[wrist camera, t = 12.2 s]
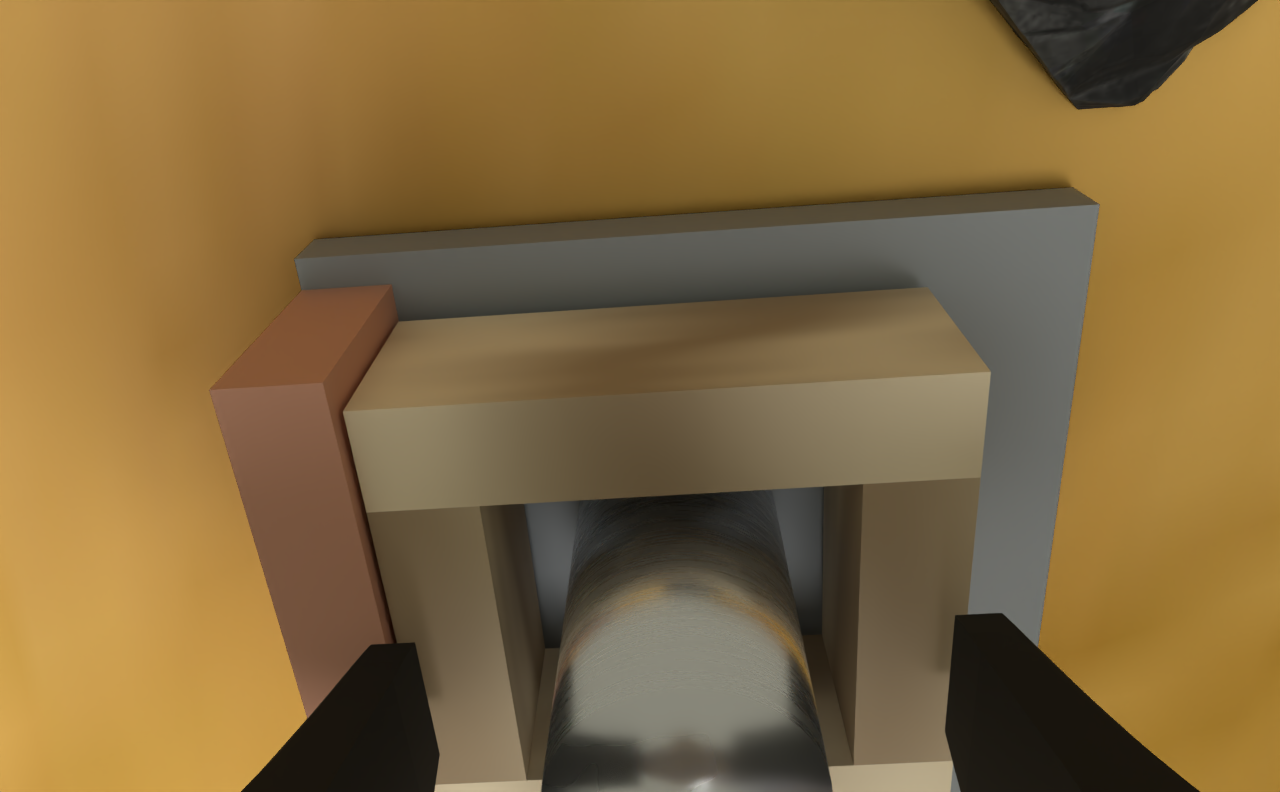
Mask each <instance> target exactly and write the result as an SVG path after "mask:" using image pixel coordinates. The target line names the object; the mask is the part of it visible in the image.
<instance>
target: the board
mask: <svg viewBox="0 0 1280 792" xmlns="http://www.w3.org/2000/svg"><path fill="white" fill-rule="evenodd" d="M1099 205H1100V204H1098V203H1097V202H1095V201H1093V200H1092V199H1090V198H1089V197H1087V196H1086V195H1084V194H1083V193H1081V192H1079V191H1078V190H1076V189H1075V188H1073V187H1070V188H1055V189H1041V190H1026V191H1011V192H997V193H982V194H968V195H953V196H939V197H924V198H910V199H895V200H881V201H866V202H851V203H837V204H822V205H808V206H793V207H779V208H764V209H750V210H735V211H720V212H706V213H691V214H677V215H662V216H648V217H633V218H619V219H604V220H589V221H575V222H560V223H546V224H531V225H517V226H502V227H488V228H473V229H458V230H444V231H429V232H415V233H400V234H386V235H371V236H357V237H342V238H327V239H314V240H313V241H312V242H311V243H310V244H309V245H308V246H307V247H306V248H305V249H304V250H303V251H302V252H301V253H300V254H299V255H298V256H297V257H296V258H295V259H294V261H295V265H296V269H297V273H298V277H299V281H300V286H301V291H300V293H299V294H298V295H297V296H296V297H295V298H294V299H293V300H292V301H291V302H290V303H289V304H288V305H287V307H286V308H285V309H284V310H283V311H282V312H281V313H280V314H279V315H278V316H277V317H276V318H275V320H274V321H273V322H272V323H271V324H270V325H269V326H268V327H267V328H266V329H265V330H264V331H263V332H262V334H261V335H260V336H259V337H258V338H257V339H256V340H255V341H254V342H253V343H252V344H251V345H250V346H249V348H248V349H247V350H246V351H245V352H244V353H243V354H242V355H241V356H240V357H239V358H238V359H237V361H236V362H235V363H234V364H233V365H232V366H231V367H230V368H229V369H228V370H227V371H226V372H225V373H224V375H223V376H222V377H221V378H220V379H219V380H218V381H217V382H216V383H215V384H214V385H213V386H212V387H211V389H210V390H209V391H210V395H211V398H212V401H213V405H214V408H215V411H216V415H217V418H218V421H219V425H220V428H221V431H222V435H223V438H224V441H225V445H226V448H227V451H228V455H229V458H230V461H231V465H232V468H233V471H234V475H235V478H236V481H237V485H238V488H239V491H240V495H241V498H242V501H243V505H244V508H245V511H246V515H247V518H248V521H249V525H250V528H251V531H252V535H253V538H254V542H255V545H256V548H257V552H258V555H259V558H260V562H261V565H262V568H263V572H264V575H265V578H266V582H267V585H268V588H269V592H270V595H271V598H272V602H273V605H274V608H275V612H276V615H277V618H278V622H279V625H280V628H281V632H282V635H283V638H284V642H285V645H286V648H287V652H288V655H289V658H290V662H291V665H292V668H293V672H294V675H295V678H296V682H297V685H298V689H299V692H300V695H301V699H302V702H303V705H304V709H305V712H306V715H307V718H308V717H309V716H310V715H311V714H312V713H313V711H314V710H315V709H316V708H317V707H318V706H319V704H320V703H321V702H322V701H323V700H324V698H325V697H326V696H327V695H328V694H329V693H330V691H331V690H332V689H333V688H334V687H335V685H336V684H337V683H338V682H339V681H340V679H341V678H342V677H343V676H344V675H345V673H346V672H347V671H348V670H349V669H350V667H351V666H352V665H353V664H354V663H355V662H356V660H357V659H358V658H359V657H360V656H361V655H362V653H363V652H364V651H365V650H366V649H367V648H368V647H369V646H370V645H372V644H392V643H397V641H396V637H395V633H394V628H393V624H392V620H391V615H390V611H389V607H388V603H387V598H386V594H385V590H384V586H383V581H382V577H381V573H380V569H379V564H378V560H377V556H376V551H375V547H374V543H373V539H372V534H371V530H370V526H369V522H368V517H367V513H366V509H365V504H364V500H363V496H362V492H361V487H360V483H359V479H358V475H357V470H356V466H355V462H354V457H353V453H352V449H351V445H350V440H349V436H348V432H347V428H346V423H345V419H344V415H343V410H344V409H345V407H346V406H347V404H348V402H349V401H350V399H351V397H352V396H353V394H354V393H355V391H356V389H357V388H358V386H359V385H360V383H361V381H362V380H363V378H364V376H365V375H366V373H367V372H368V370H369V368H370V367H371V365H372V363H373V362H374V360H375V359H376V357H377V355H378V354H379V352H380V350H381V349H382V347H383V346H384V344H385V342H386V341H387V339H388V338H389V336H390V334H391V333H392V331H393V329H394V328H395V326H396V325H397V323H398V322H399V321H415V320H430V319H446V318H461V317H476V316H492V315H507V314H522V313H538V312H553V311H568V310H584V309H599V308H614V307H630V306H645V305H661V304H676V303H691V302H707V301H722V300H737V299H753V298H768V297H783V296H799V295H814V294H830V293H845V292H860V291H876V290H891V289H906V288H922V287H928V288H929V290H930V291H931V292H932V294H933V295H934V296H935V298H936V299H937V300H938V302H939V303H940V304H941V306H942V307H943V308H944V310H945V311H946V312H947V314H948V315H949V316H950V318H951V319H952V320H953V322H954V323H955V324H956V326H957V327H958V328H959V330H960V331H961V332H962V334H963V335H964V336H965V338H966V339H967V340H968V342H969V343H970V344H971V346H972V347H973V348H974V350H975V351H976V352H977V354H978V355H979V356H980V358H981V359H982V360H983V362H984V363H985V364H986V366H987V367H988V368H989V370H990V371H991V377H990V387H989V397H988V408H987V418H986V428H985V439H984V449H983V459H982V470H981V480H980V491H979V501H978V511H977V522H976V532H975V542H974V553H973V563H972V573H971V584H970V594H969V604H968V614H987V613H1003V614H1004V615H1005V616H1006V617H1007V618H1008V619H1009V620H1010V621H1011V622H1012V623H1013V624H1015V625H1016V626H1017V627H1018V628H1019V629H1020V630H1021V631H1022V632H1023V633H1024V634H1025V635H1026V636H1027V637H1028V638H1029V639H1030V640H1031V641H1032V642H1033V643H1034V644H1035V645H1036V646H1037V647H1038V642H1039V635H1040V628H1041V621H1042V614H1043V607H1044V599H1045V592H1046V585H1047V578H1048V571H1049V564H1050V556H1051V549H1052V542H1053V535H1054V528H1055V521H1056V513H1057V506H1058V499H1059V492H1060V485H1061V477H1062V470H1063V463H1064V456H1065V449H1066V442H1067V434H1068V427H1069V420H1070V413H1071V406H1072V399H1073V391H1074V384H1075V377H1076V370H1077V363H1078V356H1079V348H1080V341H1081V334H1082V327H1083V320H1084V313H1085V305H1086V298H1087V291H1088V284H1089V277H1090V269H1091V262H1092V255H1093V248H1094V241H1095V234H1096V226H1097V219H1098V212H1099ZM771 490H772V494H773V497H774V501H775V505H776V510H777V515H778V520H779V525H780V530H781V535H782V540H783V545H784V550H785V555H786V560H787V565H788V570H789V575H790V579H791V584H792V589H793V594H794V599H795V604H796V609H797V614H798V619H799V624H800V629H801V634H802V635H819V634H822V595H823V520H824V486H823V487H805V488H788V489H771ZM579 503H580V500H579V501H561V502H544V503H526V504H524V509H525V515H526V522H527V529H528V536H529V542H530V549H531V556H532V563H533V569H534V576H535V583H536V590H537V596H538V603H539V610H540V617H541V623H542V630H543V637H544V644H545V649H547V648H560V644H561V636H562V629H563V621H564V614H565V606H566V599H567V591H568V584H569V576H570V569H571V561H572V554H573V546H574V539H575V531H576V524H577V516H578V509H579ZM950 792H961V791H960V788H959V784H958V780H957V777H956V773H955V769H954V765H953V770H952V781H951V791H950Z"/></svg>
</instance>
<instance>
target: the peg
mask: <svg viewBox="0 0 1280 792" xmlns="http://www.w3.org/2000/svg"><path fill="white" fill-rule="evenodd" d="M541 792H833V790H832V782H831V777H830V772H829V767H828V762H827V757H826V752H825V747H824V742H823V737H822V732H821V727H820V722H819V717H818V713H817V708H816V703H815V698H814V693H813V688H812V683H811V678H810V673H809V668H808V663H807V658H806V653H805V648H804V644H803V639H802V634H801V629H800V624H799V619H798V614H797V609H796V604H795V599H794V594H793V589H792V584H791V579H790V575H789V570H788V565H787V560H786V555H785V550H784V545H783V540H782V535H781V530H780V525H779V520H778V515H777V510H776V505H775V501H774V497H773V494H772V490H753V491H736V492H718V493H701V494H683V495H666V496H648V497H631V498H614V499H596V500H580V503H579V509H578V516H577V524H576V531H575V539H574V546H573V554H572V561H571V569H570V576H569V584H568V591H567V599H566V606H565V614H564V621H563V629H562V636H561V644H560V651H559V659H558V666H557V674H556V681H555V689H554V696H553V704H552V711H551V719H550V726H549V734H548V741H547V749H546V756H545V764H544V771H543V779H542V787H541Z"/></svg>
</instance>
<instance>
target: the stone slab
mask: <svg viewBox="0 0 1280 792" xmlns="http://www.w3.org/2000/svg"><path fill="white" fill-rule="evenodd" d="M1256 1H1258V0H990V2H991V3H992V4H993V5H994V6H995V7H996V8H997V10H998V11H999V12H1000V14H1001V15H1002V16H1003V18H1004V19H1005V20H1006V21H1007V23H1008V24H1009V25H1010V27H1011V28H1012V29H1013V31H1014V32H1015V34H1016V35H1017V36H1018V37H1019V38H1020V39H1021V40H1022V41H1023V42H1024V43H1025V44H1026V46H1027V47H1028V48H1029V49H1030V50H1031V51H1032V53H1033V54H1034V55H1035V56H1036V58H1037V59H1038V60H1039V62H1040V63H1041V64H1042V66H1043V67H1044V68H1045V70H1046V71H1047V72H1048V74H1049V75H1050V76H1051V78H1052V79H1053V80H1054V82H1055V83H1056V85H1057V86H1058V87H1059V89H1060V90H1061V91H1062V92H1063V93H1064V94H1065V96H1066V97H1067V98H1068V99H1069V100H1070V101H1071V102H1072V103H1073V105H1074V106H1075V107H1076V108H1077V109H1091V108H1105V107H1123V106H1133V105H1136V104H1138V103H1140V102H1142V101H1144V100H1145V99H1146V98H1147V97H1148V96H1149V95H1150V94H1151V93H1152V92H1153V91H1154V90H1156V89H1158V88H1159V87H1160V86H1161V85H1162V84H1163V83H1164V82H1165V81H1166V80H1167V79H1168V78H1169V76H1170V75H1171V74H1172V73H1173V72H1174V71H1175V70H1176V69H1177V68H1178V67H1179V66H1180V65H1181V64H1182V63H1183V62H1184V61H1185V59H1186V58H1187V56H1188V54H1189V53H1190V51H1191V50H1192V48H1193V47H1194V46H1196V45H1197V44H1199V43H1201V42H1202V41H1204V40H1206V39H1207V38H1209V37H1211V36H1213V35H1214V34H1216V33H1218V32H1219V31H1221V30H1222V29H1223V28H1224V27H1226V26H1227V25H1228V24H1229V23H1231V22H1232V21H1233V20H1234V19H1236V18H1237V17H1238V16H1239V15H1241V14H1242V13H1243V12H1244V11H1246V10H1247V9H1248V8H1249V7H1251V6H1252V5H1253V4H1254V3H1255V2H1256Z"/></svg>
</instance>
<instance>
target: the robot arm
mask: <svg viewBox="0 0 1280 792" xmlns="http://www.w3.org/2000/svg"><path fill="white" fill-rule="evenodd" d="M945 734H946V738H947V742H948V746H949V750H950V754H951V758H952V761H953V765H954V769H955V773H956V777H957V780H958V784H959V788H960V791H961V792H1200V791H1198V790H1197V789H1196V788H1195V787H1193V786H1192V785H1191V784H1189V783H1188V782H1187V781H1186V780H1184V779H1183V778H1182V777H1181V776H1180V775H1178V774H1177V773H1176V772H1175V771H1173V770H1172V769H1171V768H1170V767H1169V766H1167V765H1166V764H1165V763H1164V762H1162V761H1161V760H1160V759H1159V758H1158V757H1156V756H1155V755H1154V754H1153V753H1151V752H1150V751H1149V750H1148V749H1147V748H1146V747H1144V746H1143V745H1142V744H1141V743H1140V742H1139V741H1138V740H1136V739H1135V738H1134V737H1133V736H1132V735H1131V734H1129V733H1128V732H1127V731H1126V730H1125V729H1124V728H1123V727H1122V726H1121V725H1120V724H1118V723H1117V722H1116V721H1115V720H1114V719H1113V718H1112V717H1111V716H1110V715H1108V714H1107V713H1106V712H1105V711H1104V710H1103V709H1102V708H1101V707H1100V706H1099V705H1097V704H1096V703H1095V702H1094V701H1093V700H1092V699H1091V698H1090V697H1089V696H1088V695H1087V694H1086V693H1084V692H1083V691H1082V690H1081V689H1080V688H1079V687H1078V686H1077V685H1076V684H1075V683H1074V682H1073V681H1072V680H1071V679H1070V678H1069V677H1068V676H1067V675H1066V674H1065V673H1064V672H1063V671H1061V670H1060V669H1059V668H1058V667H1057V666H1056V665H1055V664H1054V663H1053V662H1052V661H1051V660H1050V659H1049V658H1048V657H1047V656H1046V655H1045V654H1044V653H1043V652H1042V651H1041V650H1040V649H1039V648H1038V647H1037V646H1036V645H1035V644H1034V643H1033V642H1032V641H1031V640H1030V639H1029V638H1028V637H1027V636H1026V635H1025V634H1024V633H1023V632H1022V631H1021V630H1020V629H1019V628H1018V627H1017V626H1016V625H1015V624H1013V623H1012V622H1011V621H1010V620H1009V619H1008V618H1007V617H1006V616H1005V615H1004V614H1003V613H987V614H967V615H955V621H954V632H953V644H952V655H951V666H950V677H949V689H948V700H947V711H946V723H945ZM439 757H440V753H439V748H438V744H437V739H436V735H435V730H434V726H433V721H432V717H431V712H430V708H429V703H428V699H427V694H426V690H425V685H424V681H423V676H422V672H421V667H420V663H419V658H418V654H417V649H416V645H415V642H412V643H392V644H372V645H370V646H369V647H368V648H367V649H366V650H365V651H364V652H363V653H362V655H361V656H360V657H359V658H358V659H357V660H356V662H355V663H354V664H353V665H352V666H351V667H350V669H349V670H348V671H347V672H346V673H345V675H344V676H343V677H342V678H341V679H340V681H339V682H338V683H337V684H336V685H335V687H334V688H333V689H332V690H331V691H330V693H329V694H328V695H327V696H326V697H325V698H324V700H323V701H322V702H321V703H320V704H319V706H318V707H317V708H316V709H315V710H314V711H313V713H312V714H311V715H310V716H309V717H308V718H307V720H306V721H305V722H304V723H303V724H302V725H301V727H300V728H299V729H298V730H297V731H296V732H295V733H294V734H293V736H292V737H291V738H290V739H289V740H288V741H287V742H286V743H285V745H284V746H283V747H282V748H281V749H280V750H279V751H278V753H277V754H276V755H275V756H274V757H273V758H272V759H271V760H270V762H269V763H268V764H267V765H266V766H265V767H264V768H263V769H262V770H261V771H260V772H259V774H258V775H257V776H256V777H255V778H254V779H253V780H252V781H251V782H250V783H249V784H248V785H247V786H246V787H245V788H244V789H243V790H242V791H241V792H434V791H435V784H436V777H437V770H438V764H439Z"/></svg>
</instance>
